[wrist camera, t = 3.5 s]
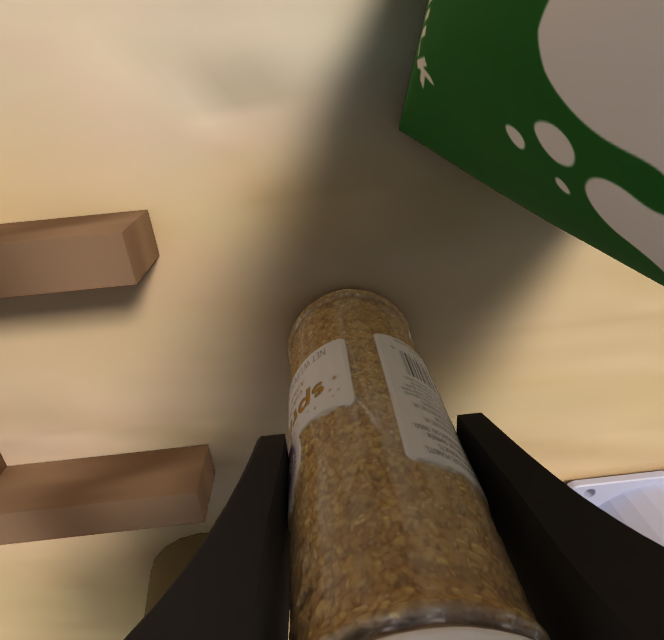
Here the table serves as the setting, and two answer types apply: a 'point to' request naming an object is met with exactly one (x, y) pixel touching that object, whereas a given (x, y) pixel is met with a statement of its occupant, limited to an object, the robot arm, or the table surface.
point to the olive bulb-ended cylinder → (171, 566)
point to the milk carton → (552, 112)
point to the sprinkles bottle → (385, 492)
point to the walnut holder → (104, 471)
